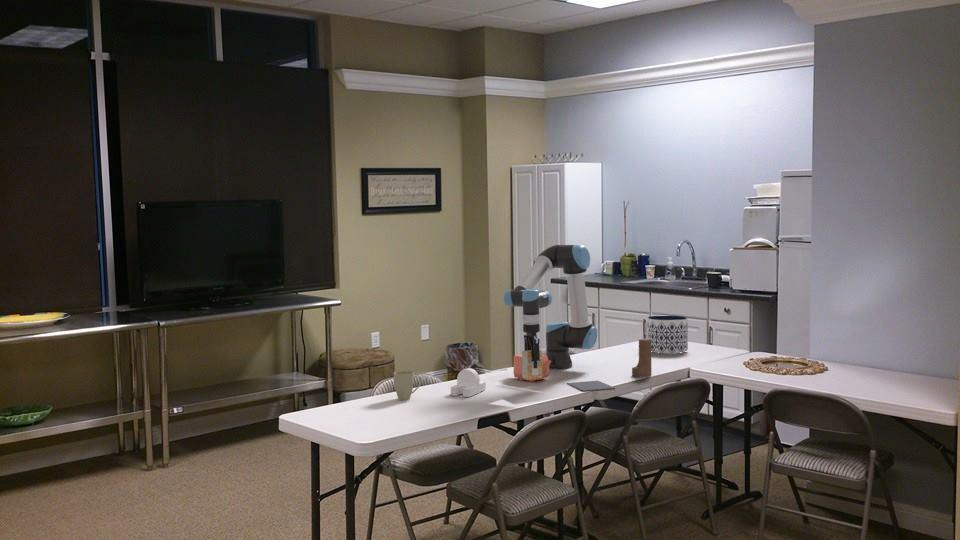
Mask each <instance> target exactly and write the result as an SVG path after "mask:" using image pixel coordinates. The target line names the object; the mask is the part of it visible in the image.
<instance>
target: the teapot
mask: <svg viewBox="0 0 960 540" xmlns="http://www.w3.org/2000/svg"><path fill="white" fill-rule="evenodd" d="M550 363H551V360H548V357H547V356H546V354H542V378H541V379H534V380H529V383H536V381H538V380H539V381H542V380H544V379H545V378H549V375H550V369H549V365H550ZM513 376H514V378H517V379H519V381H524V379H522V353H521V354H515V355H513Z"/></svg>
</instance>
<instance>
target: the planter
mask: <svg viewBox="0 0 960 540" xmlns="http://www.w3.org/2000/svg"><path fill="white" fill-rule="evenodd" d="M688 319H689V317H687V316H683V315H673V314H672V315H670V314H669V315H668V314H664V315H662V314H661V315H659V314H658V315H650V316H647V319H646V321H647V324H646V325H647V326H646V329H647V331H646V332H647V335H646V339H650V340H651V351H653V352H659V353H680V352H685V351H687V350H688V351H689V347H688V346H689V341H688V340H689V327H688V325H689V320H688ZM653 352H652V353H653ZM659 353H658V354H659Z"/></svg>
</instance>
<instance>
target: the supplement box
mask: <svg viewBox="0 0 960 540" xmlns="http://www.w3.org/2000/svg"><path fill="white" fill-rule="evenodd" d="M539 352H540V360H538V375H532V363H531V360H532V353H531V350H527V351H524V350H521V354H522V379H524V380H526V381H530V380H534V379H538V380H539V379H541V378H542V355H543V350H541V349H539ZM524 380H523V381H524Z"/></svg>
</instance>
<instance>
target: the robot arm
mask: <svg viewBox="0 0 960 540" xmlns="http://www.w3.org/2000/svg"><path fill="white" fill-rule="evenodd" d="M590 266H591V255H590V252H589V250H588V248H587V247H586V246H585V245H581V244H554V245H551V246H550V247H547V248H546V249H544V250H543V251H541V253H539V254H538V255H537V256H536V258H535V259H534V264H532V266H531V267H530V269H529V270H528V271H527V272H526V273H525V275H524V276H523V277H522V279H521V280H520V281H519V282H518V284H516V286H515V287H514V289H509V290H506V291H505V292H504V294H503V302H504V304H505V305H506V306H508V307H515V308H516V307H518V308H519V307H520V308H521V307H522V317H521V319H522V323H523V324H522V331H523V333H525V334H524V335H523V339H524V343H523V344H524V346H523V347H524V348H523V349H524V350H523V351H527V350H531V353H532V360H531V363H532V375H538V360H540V352H539V350H540V338H538V337H537V336H538V335H537V334H538V333H539V332H540V331H541V330H540V328H541V327H540V320H541V319H540V318H541V317H540V309H543V308H546V307H549V306H550V305H551V304H552V303H553V296H552V294H551V292H549V291H547V290H540V291H539V290H538V289H536V288H537V286H538V284H540V283H541V281H542V279H543V278H544V277H545V276H546V274H547V273H550V272H551V271H552V270H553V269H562V272H563V275H565V276H566V281H567V290H568V291H567V292H568V298H569V299H568V300H569V309H570V317H571V320H570V322H568V321H560V322H551V323H549V324H547V325H546V327H545V340H546V341H545V348H546V352H545V355H546V356H547V357H548V360H551V363H550V365H549V370H567V369H568V370H569V369H572V368H573V361H572V359H571V355H570V349H576V350H577V349H578V350H579V349H580V350H592V348H594V347H595V344H596V343H597V339H598V329H597V327H596V326H595V325H594V326H593V322H592V321H591V319H589V312H588V300H587V292H586V291H587V290H586V282H585V274H586V273H587V269H588V268H589V267H590Z"/></svg>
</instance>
